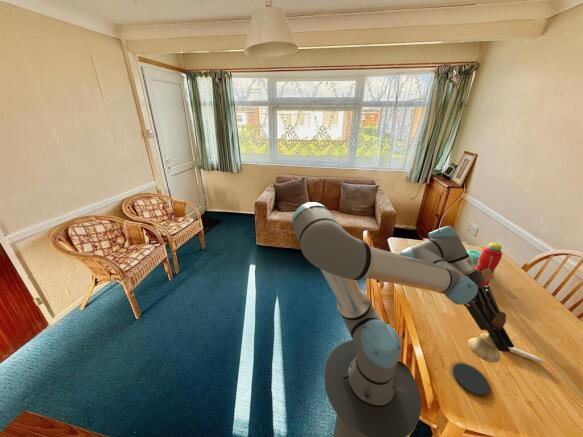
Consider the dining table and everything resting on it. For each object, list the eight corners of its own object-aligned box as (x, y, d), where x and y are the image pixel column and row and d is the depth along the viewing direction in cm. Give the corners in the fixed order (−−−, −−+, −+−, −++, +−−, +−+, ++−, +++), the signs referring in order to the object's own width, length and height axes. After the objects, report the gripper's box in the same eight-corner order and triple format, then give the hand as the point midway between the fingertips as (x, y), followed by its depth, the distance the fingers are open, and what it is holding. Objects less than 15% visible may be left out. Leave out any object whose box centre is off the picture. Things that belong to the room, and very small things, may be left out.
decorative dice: (474, 261, 138) (479, 250, 134) (482, 269, 131) (488, 258, 127) (460, 260, 139) (464, 249, 135) (467, 268, 132) (472, 256, 128)
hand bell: (463, 347, 73) (482, 311, 67) (472, 333, 78) (491, 299, 71) (495, 368, 68) (519, 331, 61) (503, 352, 72) (526, 316, 65)
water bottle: (487, 296, 112) (508, 254, 101) (467, 289, 117) (485, 248, 106) (487, 283, 121) (506, 243, 110) (469, 277, 125) (485, 238, 114)
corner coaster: (472, 399, 72) (473, 398, 72) (445, 368, 81) (446, 367, 81) (496, 390, 75) (496, 389, 74) (467, 361, 83) (468, 360, 83)
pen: (544, 366, 82) (546, 363, 81) (494, 345, 89) (496, 342, 88) (543, 362, 83) (545, 359, 82) (494, 342, 90) (495, 339, 89)
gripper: (463, 279, 66) (511, 364, 61) (487, 262, 73) (531, 337, 68) (439, 282, 73) (480, 359, 67) (463, 267, 80) (502, 336, 74)
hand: (506, 348), depth 67 cm, fingers closed on hand bell, 2 cm apart
